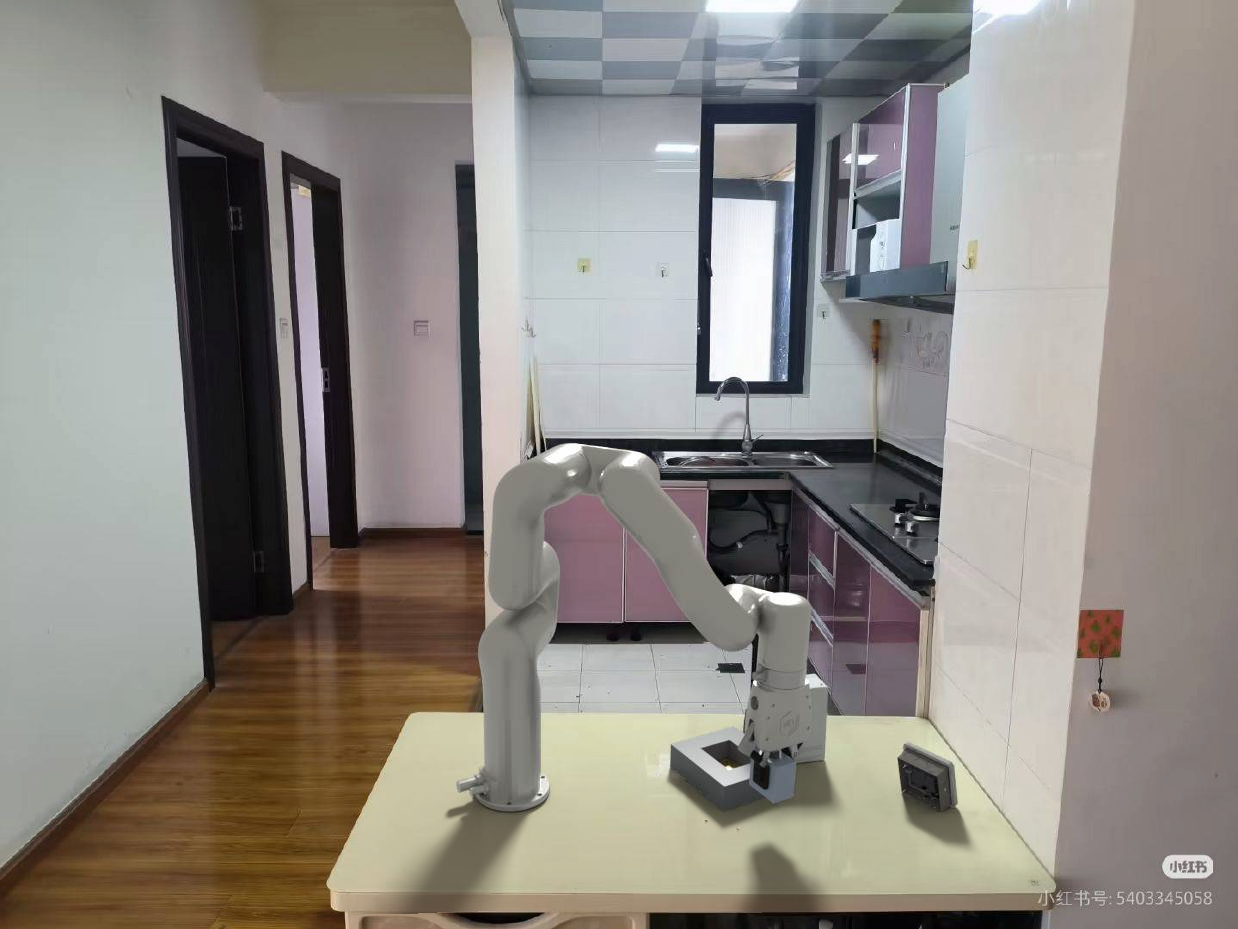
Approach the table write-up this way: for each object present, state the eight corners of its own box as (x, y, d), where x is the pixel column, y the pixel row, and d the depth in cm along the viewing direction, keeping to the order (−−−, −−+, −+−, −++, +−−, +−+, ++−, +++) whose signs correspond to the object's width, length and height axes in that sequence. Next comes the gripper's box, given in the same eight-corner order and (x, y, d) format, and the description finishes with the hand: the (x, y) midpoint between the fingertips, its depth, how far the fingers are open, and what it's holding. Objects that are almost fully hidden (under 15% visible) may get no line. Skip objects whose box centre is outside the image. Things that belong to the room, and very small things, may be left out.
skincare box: (812, 746, 171) (816, 672, 168) (826, 762, 165) (830, 686, 162) (770, 750, 169) (774, 675, 166) (783, 766, 163) (787, 689, 160)
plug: (773, 803, 139) (776, 763, 138) (748, 784, 144) (752, 745, 143) (793, 797, 141) (796, 757, 140) (768, 778, 146) (771, 740, 145)
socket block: (723, 811, 149) (724, 786, 148) (670, 767, 162) (670, 744, 161) (789, 789, 156) (790, 765, 155) (732, 748, 169) (733, 726, 168)
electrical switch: (958, 808, 151) (960, 759, 149) (940, 821, 148) (942, 771, 146) (910, 784, 158) (911, 736, 156) (892, 796, 155) (892, 748, 153)
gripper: (753, 693, 132) (744, 807, 135) (838, 673, 140) (828, 780, 143) (722, 673, 138) (715, 783, 141) (805, 655, 146) (796, 758, 150)
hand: (772, 780), depth 142 cm, fingers closed on plug, 4 cm apart
